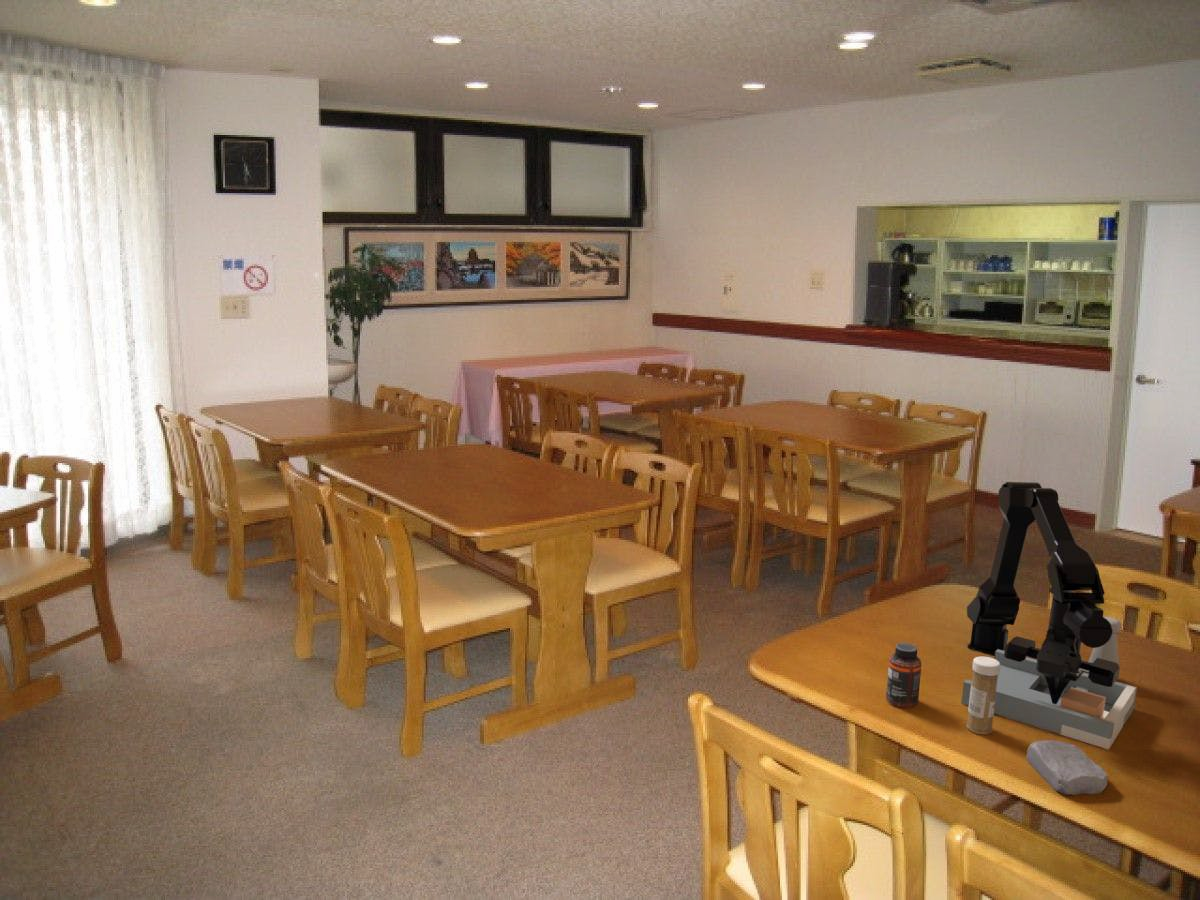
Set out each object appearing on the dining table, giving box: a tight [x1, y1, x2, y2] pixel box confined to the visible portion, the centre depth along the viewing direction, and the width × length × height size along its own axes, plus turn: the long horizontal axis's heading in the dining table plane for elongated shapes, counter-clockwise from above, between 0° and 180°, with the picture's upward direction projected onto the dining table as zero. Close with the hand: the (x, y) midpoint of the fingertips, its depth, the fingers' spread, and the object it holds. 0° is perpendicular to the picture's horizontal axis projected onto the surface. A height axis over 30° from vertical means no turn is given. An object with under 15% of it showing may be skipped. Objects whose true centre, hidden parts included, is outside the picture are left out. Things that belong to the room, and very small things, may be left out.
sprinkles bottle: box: [965, 655, 1000, 735], centre depth 183 cm, size 5×5×14 cm
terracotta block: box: [1060, 687, 1106, 719], centre depth 185 cm, size 6×6×4 cm
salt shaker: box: [1088, 616, 1122, 667], centre depth 205 cm, size 6×6×13 cm
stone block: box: [1026, 739, 1109, 796], centre depth 169 cm, size 12×5×10 cm
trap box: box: [960, 649, 1138, 750], centre depth 193 cm, size 26×20×5 cm
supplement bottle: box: [885, 642, 922, 709], centre depth 193 cm, size 6×6×11 cm
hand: (1054, 703), depth 188 cm, fingers closed
